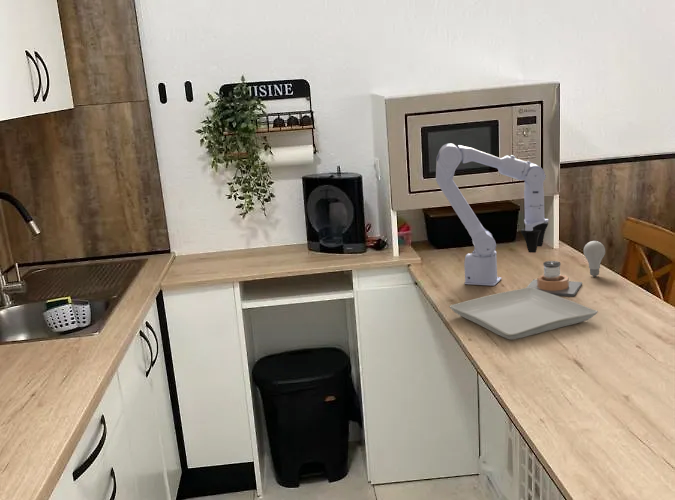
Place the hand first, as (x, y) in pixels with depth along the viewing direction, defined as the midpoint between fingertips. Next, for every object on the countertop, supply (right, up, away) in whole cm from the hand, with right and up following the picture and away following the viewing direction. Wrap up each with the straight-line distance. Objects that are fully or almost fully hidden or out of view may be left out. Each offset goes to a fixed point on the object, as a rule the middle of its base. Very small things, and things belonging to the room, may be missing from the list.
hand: (535, 249), depth 218 cm
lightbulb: (+18, -8, 0) cm, 20 cm away
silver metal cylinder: (+2, -11, -9) cm, 14 cm away
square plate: (-12, -19, -31) cm, 39 cm away
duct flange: (+3, -12, -9) cm, 15 cm away
